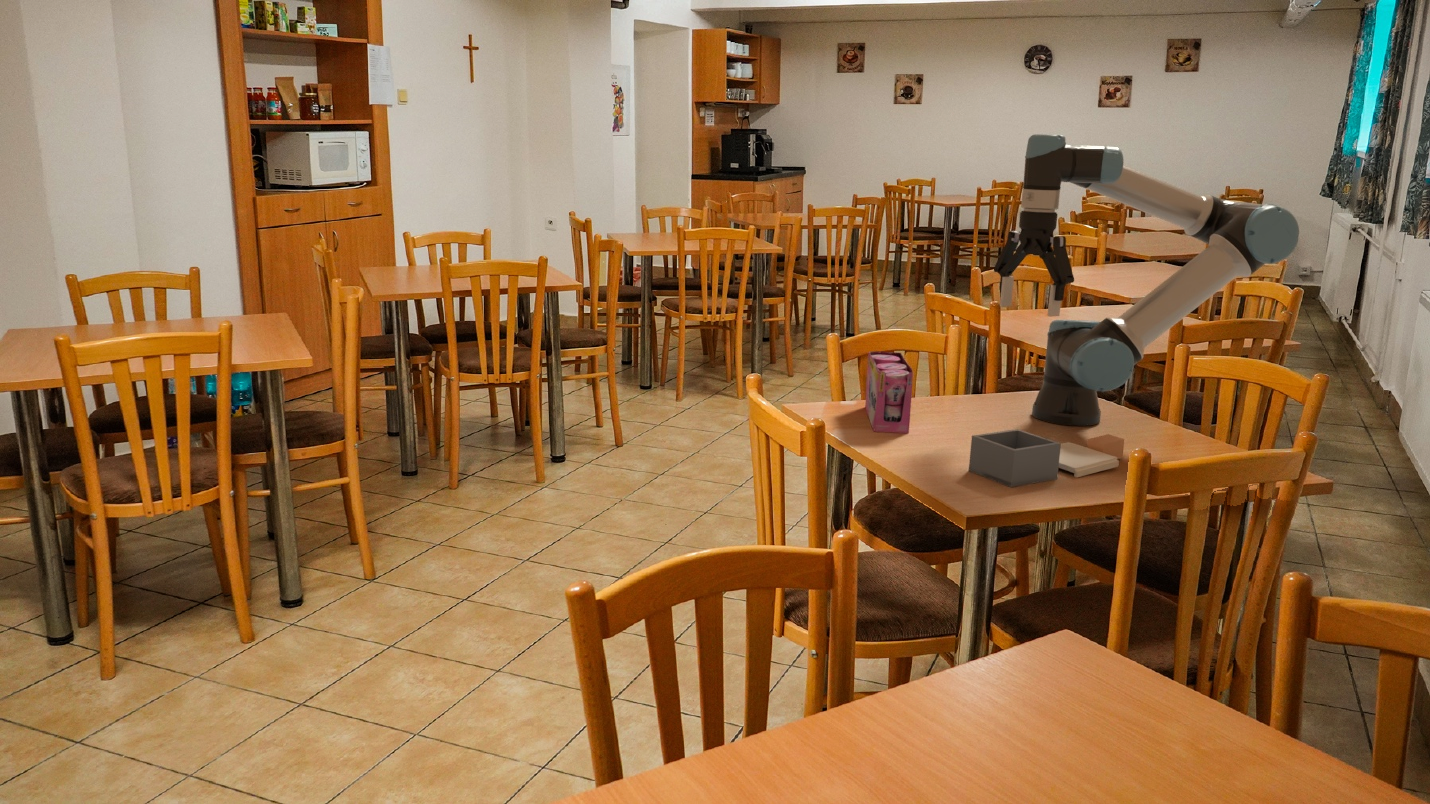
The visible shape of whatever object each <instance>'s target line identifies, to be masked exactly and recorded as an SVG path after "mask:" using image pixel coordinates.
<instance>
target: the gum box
mask: <svg viewBox="0 0 1430 804" xmlns="http://www.w3.org/2000/svg"><path fill="white" fill-rule="evenodd" d="M913 371H914V370H913V369H912V367H911V366H910V365H909V364H908V362H907V360H906V358H904V356H903V354H902V352H891V351H890V352H889V351H869V352H868V355H867V372H866V387H865V388H866V389H865V390H866V391H865V405H864V407H865V409H866V413H867V417H868V419H869V422H870V424H871V428H872V430H873V432H877V433H879V432H880V433H882V432H883V433H894V434H895V433H896V434H897V433H901V434H909V433H910V423H911V422H910V421H911V407H912V397H913V396H912V393H913V380H914V378H913V377H914V372H913Z"/></svg>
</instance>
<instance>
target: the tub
mask: <svg viewBox="0 0 1430 804" xmlns="http://www.w3.org/2000/svg"><path fill="white" fill-rule="evenodd" d="M970 441H971V442H970V453H969V464H968V472H971V473H974V474H976V475H978V476H981V477H983V478H986V479H989V480H991V481H994V482H996V483H999V484H1000V485H1004V486H1007V487H1009V488H1014V487H1015V488H1016V487H1020V486H1026V485H1030V484H1031V485H1032V484H1037V483H1042V482H1048V481H1052V480H1053V481H1054V480H1058V474H1059V473H1058V472H1059V468H1058V466H1059V457H1060V448H1061V444H1062V443H1061V442H1058V441H1056V440H1052V439H1050V438H1047V437H1042V436H1040V435H1037V434H1033V433H1031V432H1028V431H1025V430H1021V429H1018V428H1016V429H1008V430H1004V431H996V432H988V433H987V432H986V433H980V434H974V435H971V440H970Z"/></svg>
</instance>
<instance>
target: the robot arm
mask: <svg viewBox="0 0 1430 804" xmlns="http://www.w3.org/2000/svg"><path fill="white" fill-rule="evenodd" d="M1026 145H1027V146H1026V150H1025V151H1026V152H1025V155H1024V158H1025V160H1024V171H1023V173H1024V174H1023V184H1022V185H1023V186H1022V192H1021V193H1022V194H1021V203H1020V204H1021V205H1020V206H1021V208H1022V209H1023V210H1021V211H1020V213H1019V222H1018V227H1019V229H1020V231H1019V230H1011V231H1009V232H1008V234H1007V240H1006V243H1005V245H1004V247H1003V249H1002V251H1001V253H1000V255H999V257H998V259H997V262H996V263H995V264H994V268H993V272H994V273H997V274H998V275H999V276H1000V281H999V291H1000V301H999V307H1000V308H1008V307H1012V304H1013V303H1012V301H1013V292H1014V291H1013V290H1014V283H1015V282H1014V280H1015V277H1014V274H1013V273H1014V271H1016V269H1017V268H1018V267H1019V266H1020V264H1021V263H1022V262H1023V260H1024V259H1025V258H1026V257H1027V256H1029V255H1030V256H1031V255H1032V256H1035V257H1039V258H1040V259H1042V261H1043V263H1044V266H1045V267H1046V269H1047V271H1048V273H1049V275H1050V278H1051V280H1052V281H1053V283H1051V284H1050V290H1049V300H1048V307H1047V317H1060V312H1061V303H1062V302H1063V301H1064V297H1065V291H1066V289H1065V288H1066V285H1069V284H1072V283H1074V281H1075V277H1074V274H1073V273H1074V272H1073V269H1072V266H1071V262H1070V259H1069V255H1068V250H1067V244H1066V243H1067V238H1066V236H1064V235H1062V236H1061V235H1060V236H1059V235H1058V236H1054V231H1055V230H1056V229H1057V223H1058V213H1057V212H1056V210H1059V205H1060V195H1061V194H1060V193H1061V184H1062V183H1071V184H1073V185H1075V186H1077V187H1080V188H1084V189H1086V190H1088V191H1091V192H1093V193H1095V194H1099V195H1101V196H1103V197H1106V198H1108V199H1111V200H1113V201H1116V202H1118V203H1121V204H1123V205H1125V206H1128V207H1131V208H1132V209H1135V210H1138V211H1141V212H1142V213H1146V214H1148V215H1150V216H1153V217H1155V218H1158V219H1160V220H1163V221H1164V222H1167V223H1170V224H1172V225H1175V226H1178V227H1180V228H1183V232H1184V234H1185V235H1187V236H1189V237H1192V238H1194V239H1197V240H1199V241H1200V242H1203V243H1204V244H1207V247H1206V248H1204V249H1203V250H1202V251H1201V252H1200V253H1199V254H1197V255H1196V256H1194V257H1193V258H1192V259H1190V260H1189V261H1188V262H1187V263H1186V264H1184V265H1183V266H1182V267H1181V268H1179V269H1178V270H1177V271H1175V272H1174V273H1173V274H1172V275H1170V276H1169V277H1167V279H1166V280H1164V281H1163V282H1161V283H1160V284H1159V285H1157V286H1156V287H1155V288H1154V289H1153V290H1151V291H1150V292H1149V293H1147V294H1146V295H1145V296H1144V297H1142V298H1141V299H1140V300H1138V301H1137V302H1136V303H1135V304H1133V305H1132V306H1131V307H1130V308H1128V309H1127V310H1126V311H1125V312H1123V313H1122V314H1121V315H1120V316H1117V317H1105V318H1104V319H1102V321H1100V320H1099V321H1098V320H1082V319H1081V320H1080V319H1078V320H1076V319H1055V320H1052V321H1050V324H1049V327H1048V331H1047V333H1046V334H1047V341H1046V352H1045V360H1044V361H1045V363H1044V371H1043V372H1044V373H1043V381H1042V385H1041V387H1040V389H1039V391H1038V394H1037V396H1036V397H1035V401H1034V402H1033V404H1032V410H1031V416H1033V418H1035V419H1038V420H1040V421H1043V422H1046V423H1050V424H1056V425H1062V426H1063V425H1064V426H1074V427H1075V426H1077V427H1083V426H1094V425H1097V424H1099V423H1100V422H1101V414H1102V412H1101V411H1102V410H1101V409H1100V406H1099V405H1100V403H1099V398H1098V392H1110V391H1113V390H1115V389H1118V388H1119V387H1122V386H1123V385H1124V384H1125V383H1127V381H1128V380H1129V379H1130V377H1132V374H1133V370H1134V367H1135V365H1137V364H1138V363H1139V362H1140V361H1142V360H1143V358H1144V352H1145V348H1147V347H1148V346H1149V345H1150V344H1152V343H1153V342H1155V341H1156V340H1157V339H1158V338H1159V337H1160V336H1162V335H1163V334H1165V333H1166V332H1167V331H1168V330H1170V329H1171V328H1172V327H1174V326H1175V325H1176V324H1177V323H1179V322H1181V320H1183V319H1184V318H1185V317H1186V316H1188V315H1189V314H1191V313H1192V312H1193V311H1194V310H1196V309H1197V308H1198V307H1199V306H1201V305H1202V304H1203V303H1204V302H1206V301H1207V300H1209V299H1210V298H1211V297H1212V296H1214V295H1215V294H1216V293H1217V292H1218V291H1220V290H1221V289H1223V288H1224V287H1225V286H1226V285H1228V284H1229V283H1230V282H1232V281H1233V280H1234V279H1235V278H1237V277H1239V278H1240V277H1241V278H1248V277H1250V276H1251V275H1253V274H1254V273H1256V272H1257V271H1259V269H1260V268H1262V267H1263V266H1265V265H1273V264H1276V263H1279V262H1281V261H1284V260H1286V259H1287V258H1288V257H1290V256H1291V255H1292V253H1293V252H1294V250H1295V249H1296V247H1297V245H1298V242H1299V235H1300V228H1299V224H1298V220H1297V219H1296V217H1295V216H1294V214H1292V212H1291V211H1290V210H1288V209H1286V208H1284V207H1282V206H1278V204H1277V205H1276V204H1272V203H1266V204H1262V203H1254V202H1246V201H1236V200H1228V199H1224V198H1220V197H1216V196H1214V195H1211V194H1208V193H1205V194H1203V195H1198V194H1195V193H1194V192H1190V191H1188V190H1186V189H1184V188H1181V187H1179V186H1176V185H1173V184H1171V183H1169V182H1166V181H1163V180H1161V179H1159V178H1157V177H1156V178H1155V177H1154V176H1151V175H1149V174H1146V173H1143V172H1141V171H1138V170H1136V169H1133V168H1132V167H1129V166H1126V165H1124V155H1123V152H1122V149H1120V148H1119V147H1118V146H1117V147H1116V146H1108V145H1073V144H1072V145H1071V144H1067V142H1066V137H1065V135H1062V134H1043V133H1042V134H1032V135H1030V136H1029V137H1028V140H1027V144H1026Z"/></svg>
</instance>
